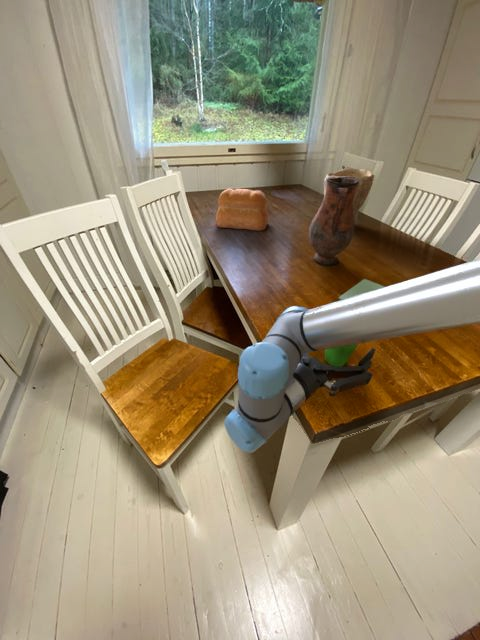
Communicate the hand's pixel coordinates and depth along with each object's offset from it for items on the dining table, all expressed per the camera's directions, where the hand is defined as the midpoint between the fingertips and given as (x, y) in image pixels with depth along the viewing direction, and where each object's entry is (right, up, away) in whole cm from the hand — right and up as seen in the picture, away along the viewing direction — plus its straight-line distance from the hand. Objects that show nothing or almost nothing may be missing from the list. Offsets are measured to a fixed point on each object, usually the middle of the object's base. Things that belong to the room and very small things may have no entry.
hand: (345, 338), depth 66 cm
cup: (-2, -6, +3) cm, 7 cm away
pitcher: (+9, +28, +45) cm, 54 cm away
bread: (-25, +54, +77) cm, 97 cm away
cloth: (+20, +11, +23) cm, 32 cm away
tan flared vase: (+27, +56, +80) cm, 101 cm away
